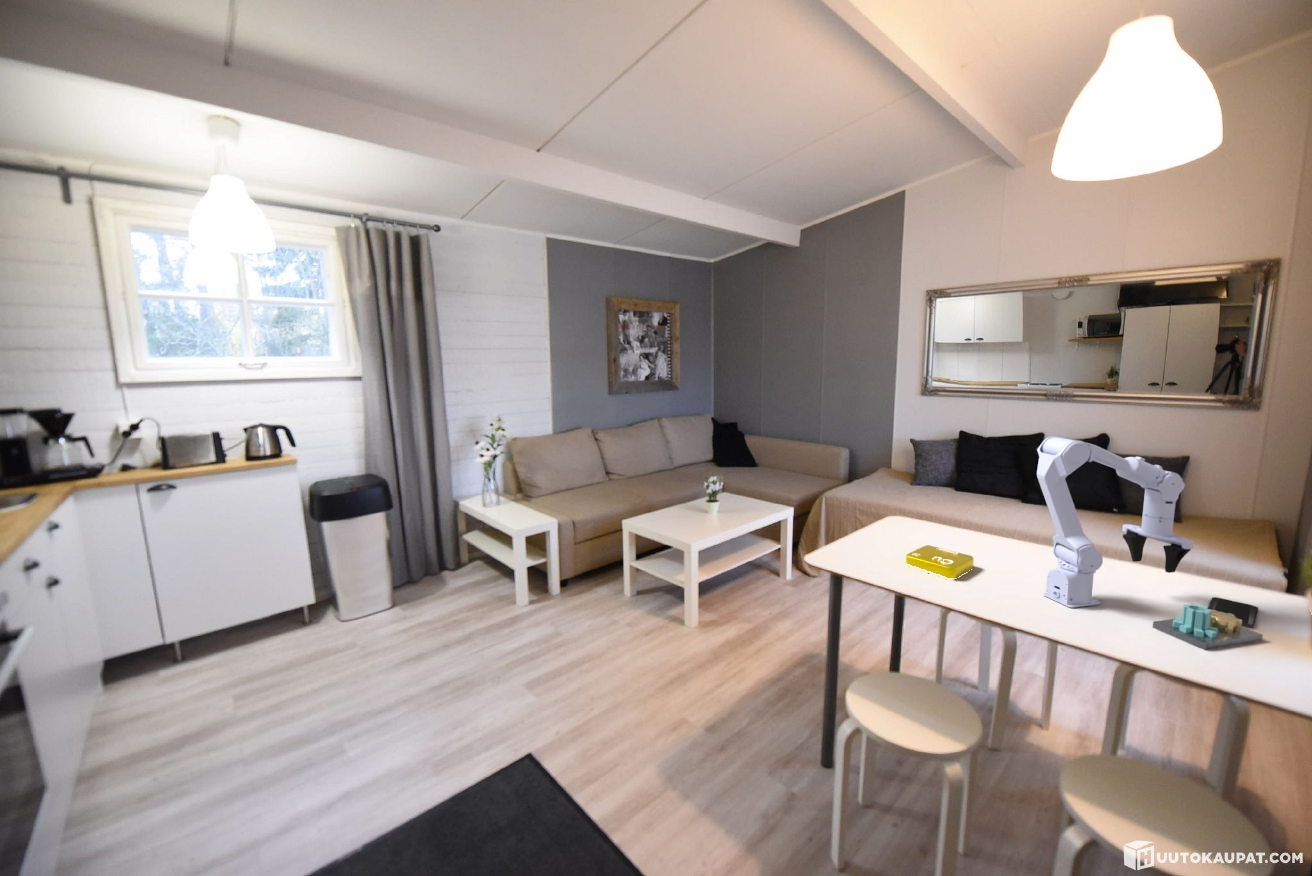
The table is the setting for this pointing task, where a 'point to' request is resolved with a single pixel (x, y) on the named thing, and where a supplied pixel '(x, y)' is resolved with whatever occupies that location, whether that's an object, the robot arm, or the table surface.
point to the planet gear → (1196, 621)
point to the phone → (1236, 610)
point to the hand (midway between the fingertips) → (1152, 566)
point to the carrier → (1227, 635)
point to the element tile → (940, 561)
